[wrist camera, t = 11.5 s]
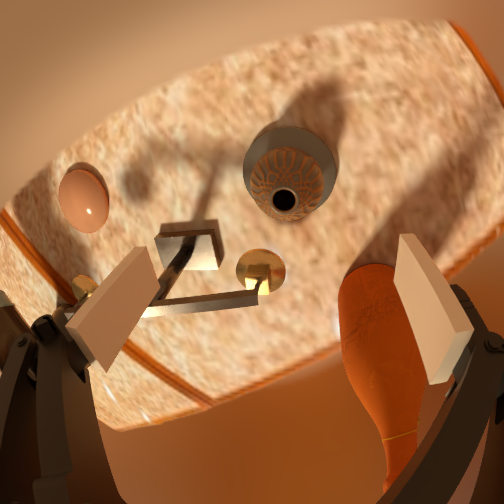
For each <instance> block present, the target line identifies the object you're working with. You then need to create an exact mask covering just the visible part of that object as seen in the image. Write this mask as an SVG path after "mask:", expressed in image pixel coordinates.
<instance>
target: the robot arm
mask: <svg viewBox="0 0 504 504" xmlns="http://www.w3.org/2000/svg"><path fill="white" fill-rule="evenodd" d="M394 284H395V286H396V288H397V291H398V293H399V296H400V298H401V301H402V303H403V306H404V308H405V311H406V314H407V316H408V319H409V322H410V324H411V327H412V330H413V333H414V336H415V339H416V342H417V345H418V348H419V351H420V354H421V357H422V360H423V363H424V367H425V370H426V373H427V377H428V380H429V384H430V385H432V384H437V383H442V382H446V381H447V380H448V379H449V377H450V375H451V373H452V372H453V374H454V377H455V381H454V383H453V384H452V386H451V388H450V389H449V391H448V392H447V394H446V395H445V396H447V397H446V399H445V401H444V403H443V405H442V407H441V409H440V411H439V413H438V415H437V417H436V418H435V420H434V422H433V424H432V425H431V427H430V429H429V431H428V432H427V434H426V436H425V437H424V439H423V441H422V442H421V444H420V445H419V447H418V449H417V450H416V452H415V453H414V455H413V456H412V458H411V459H410V461H409V462H408V463H407V465H406V466H405V468H404V469H403V470H402V472H401V473H400V475H399V476H398V477H397V478H396V480H395V481H394V482H393V484H392V485H391V486H390V487H389V489H388V490H387V491H386V492H385V494H384V495H383V496H382V497H381V498H380V500H379V501H378V502H377V503H376V504H447V503H448V501H449V500H450V498H451V496H452V495H453V493H454V491H455V490H456V488H457V486H458V485H459V483H460V481H461V479H462V477H463V475H464V473H465V472H466V470H467V468H468V466H469V464H470V462H471V459H472V458H473V456H474V453H475V451H476V449H477V447H478V444H479V442H480V440H481V437H482V435H483V433H484V430H485V427H486V425H487V422H488V419H489V417H490V420H489V427H488V433H487V440H486V445H485V450H484V455H483V459H482V463H481V467H480V471H479V475H478V478H477V482H476V485H475V488H474V492H473V494H472V498H471V500H470V503H469V504H504V339H503V338H502V337H501V336H500V335H498V334H497V333H494V332H489V331H488V329H487V327H486V325H485V324H484V322H483V320H482V318H481V317H480V315H479V313H478V312H477V310H476V308H474V305H473V303H472V302H471V301H470V298H469V297H468V295H467V294H466V292H465V291H464V290H463V289H461V288H460V287H459V286H458V285H457V284H454V285H449V284H448V283H447V281H446V279H445V278H444V276H443V275H442V273H441V272H440V270H439V269H438V267H437V266H436V264H435V263H434V261H433V260H432V258H431V257H430V255H429V254H428V252H427V251H426V250H425V248H424V247H423V245H422V244H421V243H420V241H419V240H418V238H417V237H416V236H415V234H414V233H408V234H400V237H399V246H398V254H397V261H396V268H395V274H394ZM159 289H160V285H159V282H158V279H157V277H156V274H155V271H154V268H153V265H152V262H151V259H150V256H149V253H148V250H147V247H146V246H145V247H135V248H134V249H133V250H132V251H131V252H130V253H129V254H128V255H127V256H126V257H125V258H124V259H123V260H122V261H121V263H120V264H119V265H118V266H117V267H116V268H115V269H114V270H113V271H112V272H111V273H110V274H109V275H108V277H107V278H106V279H105V280H104V281H103V282H102V283H101V284H100V285H99V287H98V288H97V289H96V290H95V291H94V292H93V293H92V295H91V296H89V297H88V298H87V299H86V300H85V301H84V302H83V303H82V304H81V307H79V308H78V309H77V310H76V312H75V313H74V314H73V315H72V316H71V318H70V319H69V320H68V319H67V317H66V316H65V314H64V313H65V311H66V309H67V308H72V307H74V306H71V305H68V304H61V305H60V306H59V307H58V308H57V309H56V310H55V311H54V313H53V315H52V316H51V315H48V314H46V315H43V316H41V317H39V318H38V319H37V320H36V321H34V323H33V324H32V326H31V327H30V326H29V325H28V323H27V322H26V321H25V319H24V318H23V317H22V315H21V314H20V313H19V311H18V310H17V308H16V307H15V304H14V303H12V302H11V300H10V299H9V298H8V296H7V295H6V294H5V292H4V291H2V290H0V504H127V503H126V502H125V501H124V500H123V499H122V498H121V496H120V495H119V493H118V490H117V488H116V485H115V482H114V479H113V476H112V473H111V470H110V466H109V463H108V460H107V457H106V453H105V450H104V446H103V442H102V438H101V434H100V430H99V426H98V421H97V417H96V412H95V407H94V401H93V396H92V390H91V384H90V377H89V371H88V369H87V368H88V367H89V366H90V365H91V366H92V367H93V369H94V370H96V371H100V372H103V373H107V371H108V370H109V368H110V366H111V365H112V363H113V361H114V360H115V358H116V356H117V355H118V353H119V351H120V350H121V348H122V346H123V345H124V343H125V342H126V340H127V338H128V337H129V335H130V334H131V332H132V330H133V329H134V327H135V326H136V324H137V322H138V321H139V319H140V318H141V316H142V315H143V313H144V312H145V310H146V308H147V307H148V305H149V304H150V302H151V301H152V299H153V298H154V296H155V295H156V293H157V292H158V290H159Z"/></svg>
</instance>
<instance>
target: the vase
mask: <svg viewBox="0 0 504 504" xmlns="http://www.w3.org/2000/svg"><path fill="white" fill-rule="evenodd" d="M250 187H251V193H252V196H253V198H254V200H255V202H256V204H257V205H258V207H259V208H260V209H261V210H262V211H263V212H264V213H265V214H267V215H268V216H270V217H272V218H275V219H278V220H283V221H291V220H297V219H300V218H302V217H304V216H306V215H308V214H309V213H310V212H311V211H312V210H313V209H314V208H315V207H316V206H317V205H318V203H319V201H320V199H321V197H322V194H323V189H324V179H323V174H322V171H321V168H320V166H319V165H318V163H317V161H316V160H315V159H314V158H313V157H312V156H311V155H310V154H309V153H307V152H306V151H304V150H302V149H299V148H296V147H291V146H283V147H277V148H274V149H272V150H270V151H268V152H267V153H265V154H264V155H263V156H262V157H261V158H260V159H259V160H258V161H257V163H256V164H255V166H254V168H253V170H252V174H251V179H250Z"/></svg>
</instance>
